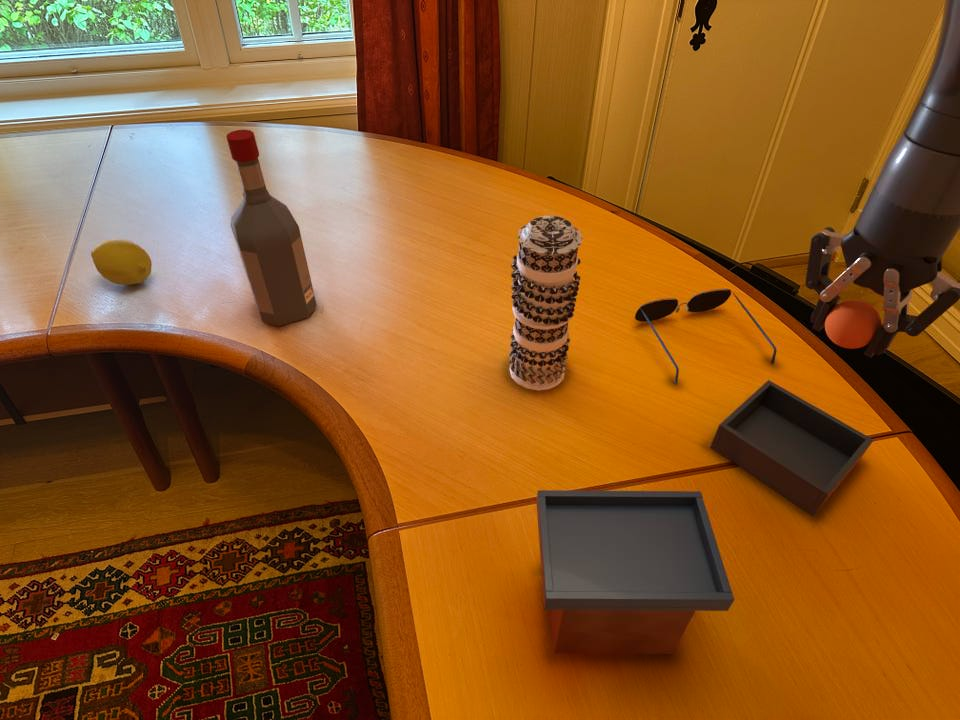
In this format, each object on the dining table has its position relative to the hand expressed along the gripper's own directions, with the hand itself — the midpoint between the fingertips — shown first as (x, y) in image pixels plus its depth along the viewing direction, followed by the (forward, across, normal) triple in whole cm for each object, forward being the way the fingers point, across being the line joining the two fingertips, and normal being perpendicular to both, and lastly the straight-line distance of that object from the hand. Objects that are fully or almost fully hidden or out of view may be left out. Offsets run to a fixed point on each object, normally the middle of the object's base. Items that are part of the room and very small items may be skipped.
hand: (844, 339), depth 64 cm
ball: (-2, 0, 0) cm, 2 cm away
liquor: (+22, -72, -32) cm, 82 cm away
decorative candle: (+22, -33, -11) cm, 41 cm away
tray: (+10, -2, -31) cm, 33 cm away
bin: (+22, 0, +3) cm, 22 cm away
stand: (+22, -2, -31) cm, 38 cm away
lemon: (+21, -98, -50) cm, 112 cm away
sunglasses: (+22, -21, +13) cm, 33 cm away
